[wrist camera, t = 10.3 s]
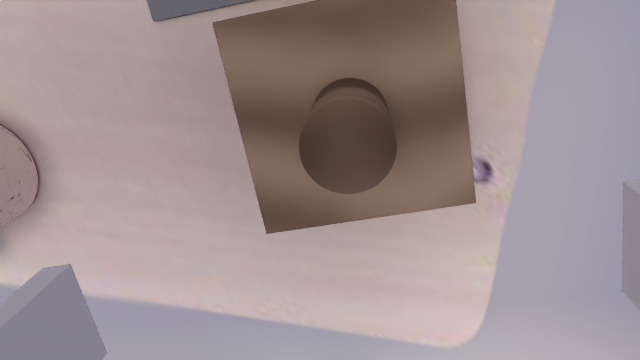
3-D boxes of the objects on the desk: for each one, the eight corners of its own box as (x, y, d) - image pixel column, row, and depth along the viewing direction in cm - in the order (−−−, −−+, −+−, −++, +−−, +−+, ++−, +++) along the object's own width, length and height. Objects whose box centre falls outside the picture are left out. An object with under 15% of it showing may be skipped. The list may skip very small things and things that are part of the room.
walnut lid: (218, 21, 28) (169, 28, 21) (449, -28, 26) (483, -39, 19) (269, 225, 32) (244, 290, 25) (471, 195, 30) (506, 255, 23)
